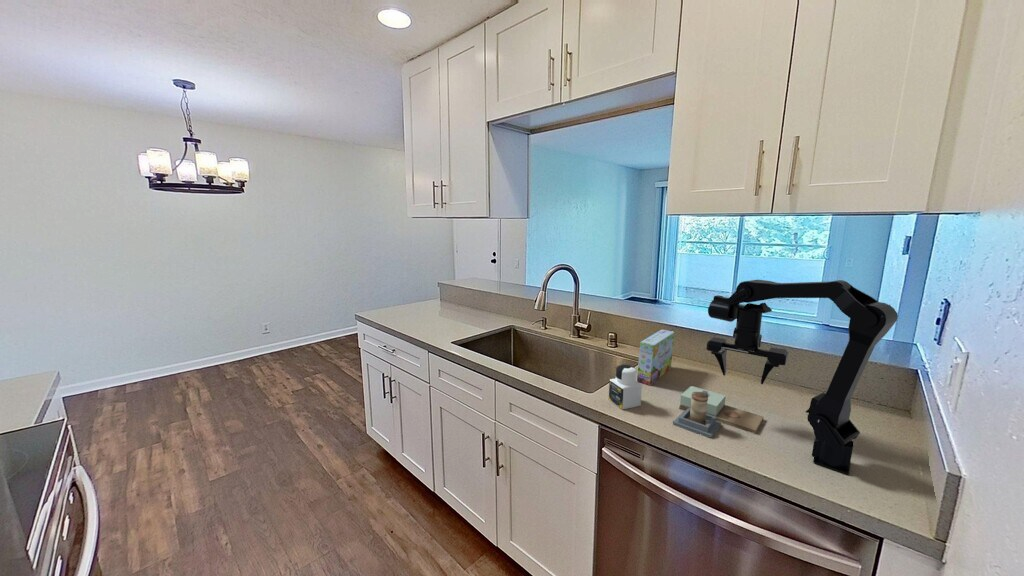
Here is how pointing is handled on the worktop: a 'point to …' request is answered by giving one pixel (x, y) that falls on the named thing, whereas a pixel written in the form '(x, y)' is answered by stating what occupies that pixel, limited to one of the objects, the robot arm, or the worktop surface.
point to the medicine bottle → (625, 388)
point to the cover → (713, 403)
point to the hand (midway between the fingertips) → (742, 379)
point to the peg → (698, 407)
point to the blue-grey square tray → (697, 424)
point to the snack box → (655, 356)
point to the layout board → (737, 418)
